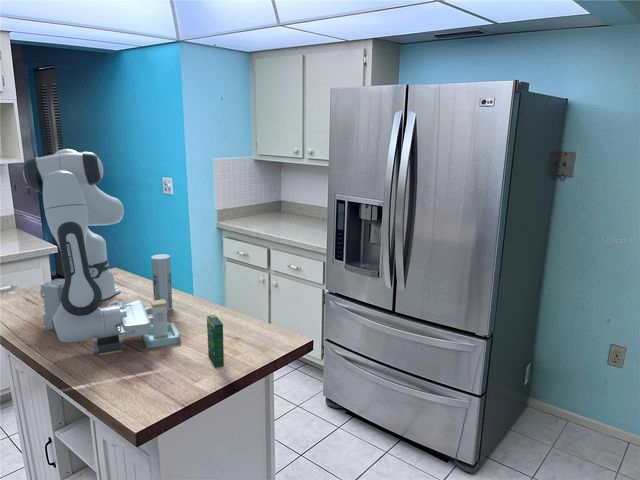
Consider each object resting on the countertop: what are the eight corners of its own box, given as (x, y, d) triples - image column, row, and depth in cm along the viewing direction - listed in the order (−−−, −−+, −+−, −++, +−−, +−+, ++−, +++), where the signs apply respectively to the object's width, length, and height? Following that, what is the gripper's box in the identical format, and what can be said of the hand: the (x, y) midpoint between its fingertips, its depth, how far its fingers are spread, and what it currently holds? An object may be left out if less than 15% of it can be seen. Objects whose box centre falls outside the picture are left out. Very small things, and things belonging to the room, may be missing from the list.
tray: (141, 334, 152) (141, 326, 152) (173, 328, 157) (173, 321, 156) (146, 350, 142) (146, 342, 141) (180, 344, 146) (180, 336, 146)
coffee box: (207, 356, 140) (206, 315, 136) (216, 354, 141) (216, 313, 138) (214, 368, 133) (213, 325, 130) (224, 366, 134) (223, 324, 131)
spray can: (152, 306, 174) (149, 255, 170) (171, 304, 177) (168, 253, 173) (155, 313, 169) (152, 259, 164) (174, 310, 172) (171, 258, 167)
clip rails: (93, 343, 145) (93, 335, 144) (121, 338, 149) (121, 331, 148) (95, 357, 137) (94, 349, 136) (125, 352, 140) (124, 344, 140)
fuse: (153, 336, 150) (151, 300, 147) (166, 334, 152) (164, 299, 149) (154, 340, 147) (152, 304, 144) (168, 338, 149) (166, 302, 146)
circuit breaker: (83, 333, 151) (78, 289, 148) (44, 328, 154) (39, 285, 150) (98, 324, 158) (94, 282, 155) (61, 319, 161) (56, 278, 157)
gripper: (116, 324, 132) (167, 316, 138) (111, 299, 149) (156, 293, 156) (118, 345, 133) (168, 336, 140) (112, 318, 151) (157, 311, 157)
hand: (162, 313), depth 148 cm, fingers open, 4 cm apart
